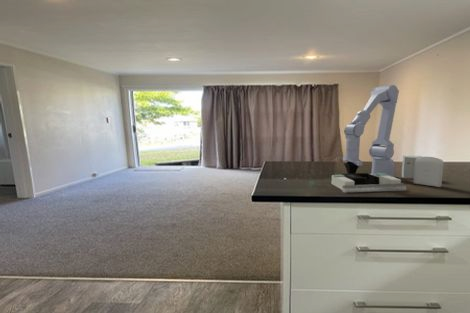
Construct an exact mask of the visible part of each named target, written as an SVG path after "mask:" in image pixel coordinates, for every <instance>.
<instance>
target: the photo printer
mask: <svg viewBox="0 0 470 313" xmlns="http://www.w3.org/2000/svg"><path fill="white" fill-rule="evenodd" d="M443 172H444V160H443V159H441V158H438V157H435V156H434V157H433V156H422V157H419V158H416V160H415V168H414V179H413V184H416V185H422V186H430V187H435V188H441V187H442V184H443Z"/></svg>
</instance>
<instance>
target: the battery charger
mask: <svg viewBox="0 0 470 313" xmlns="http://www.w3.org/2000/svg"><path fill="white" fill-rule="evenodd" d="M371 174H372V173H368V172H360V173H359V172H358V173H357V172H356V173H352V174H347V173H340V175H344V176H345V177H346V178H348V179H351V180H353V181H355V182H354V185H371V184H379V177H377V176H374V175H371Z"/></svg>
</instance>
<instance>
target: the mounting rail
mask: <svg viewBox="0 0 470 313" xmlns="http://www.w3.org/2000/svg"><path fill="white" fill-rule="evenodd" d="M341 191H342V192H343V193H345V194H346V193H367V192H368V193H369V192H373V193H375V192H397V191H399V192H400V191H401V192H402V191H407V186H406V185H405V183H403V182H401V183H400V184H371V185H343V186H342V189H341Z"/></svg>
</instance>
